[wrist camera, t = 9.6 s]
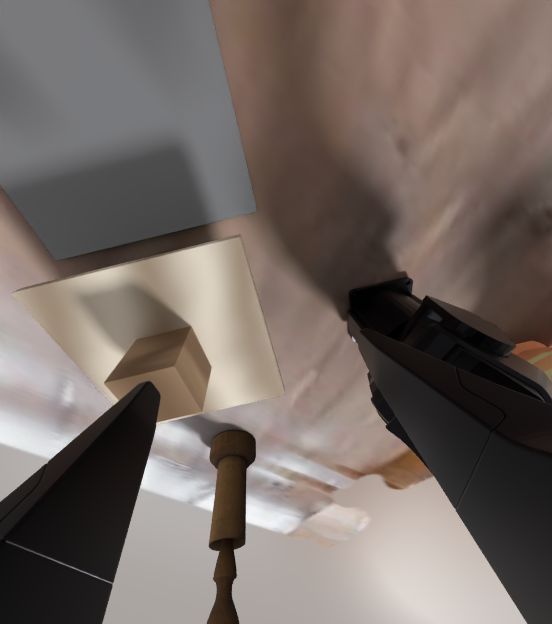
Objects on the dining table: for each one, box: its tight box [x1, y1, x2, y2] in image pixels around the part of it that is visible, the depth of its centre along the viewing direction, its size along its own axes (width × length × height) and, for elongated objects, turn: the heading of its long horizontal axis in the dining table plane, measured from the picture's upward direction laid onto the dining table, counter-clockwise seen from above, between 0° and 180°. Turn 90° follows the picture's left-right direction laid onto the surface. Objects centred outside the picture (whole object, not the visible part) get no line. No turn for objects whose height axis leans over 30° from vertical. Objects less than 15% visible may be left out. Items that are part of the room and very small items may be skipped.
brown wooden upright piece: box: [207, 430, 256, 624], centre depth 26 cm, size 7×6×18 cm
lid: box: [11, 234, 285, 424], centre depth 15 cm, size 14×14×5 cm
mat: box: [0, 0, 258, 261], centre depth 14 cm, size 17×17×1 cm
